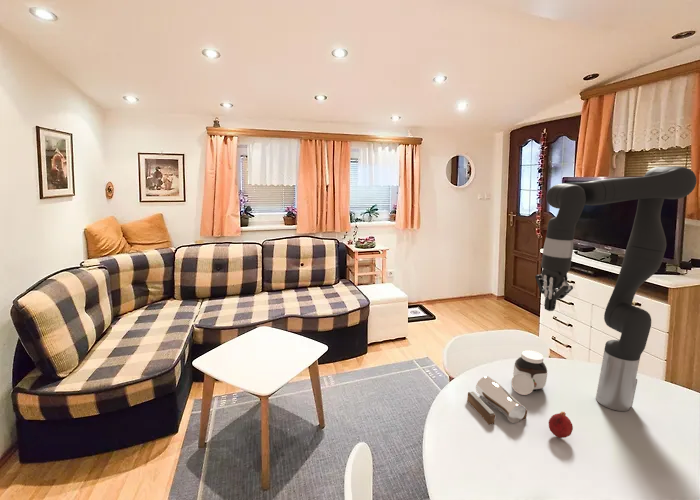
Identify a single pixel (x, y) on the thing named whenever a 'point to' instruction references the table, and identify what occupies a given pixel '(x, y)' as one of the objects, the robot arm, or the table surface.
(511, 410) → the beer glass
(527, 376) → the spread jar
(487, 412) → the cradle
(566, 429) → the onion
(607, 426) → the table surface
